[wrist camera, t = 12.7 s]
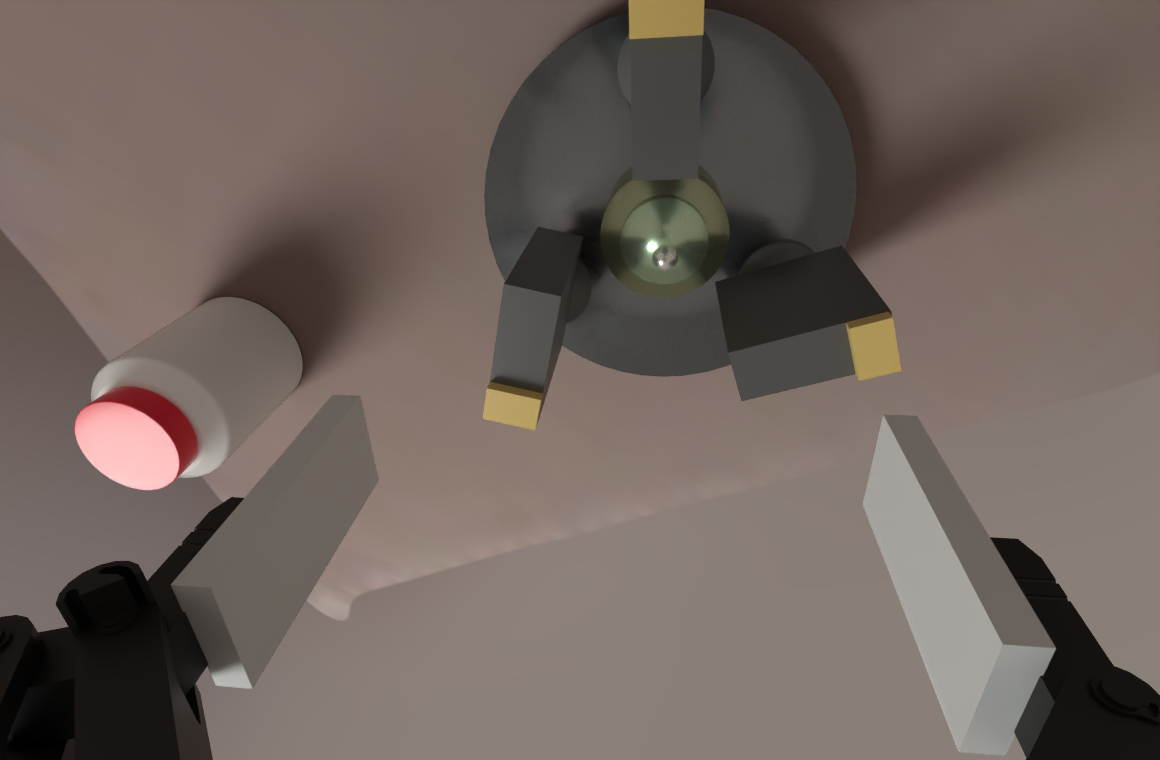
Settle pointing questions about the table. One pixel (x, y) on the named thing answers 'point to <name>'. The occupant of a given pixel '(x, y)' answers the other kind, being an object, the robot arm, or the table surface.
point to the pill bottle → (189, 394)
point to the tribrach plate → (734, 142)
